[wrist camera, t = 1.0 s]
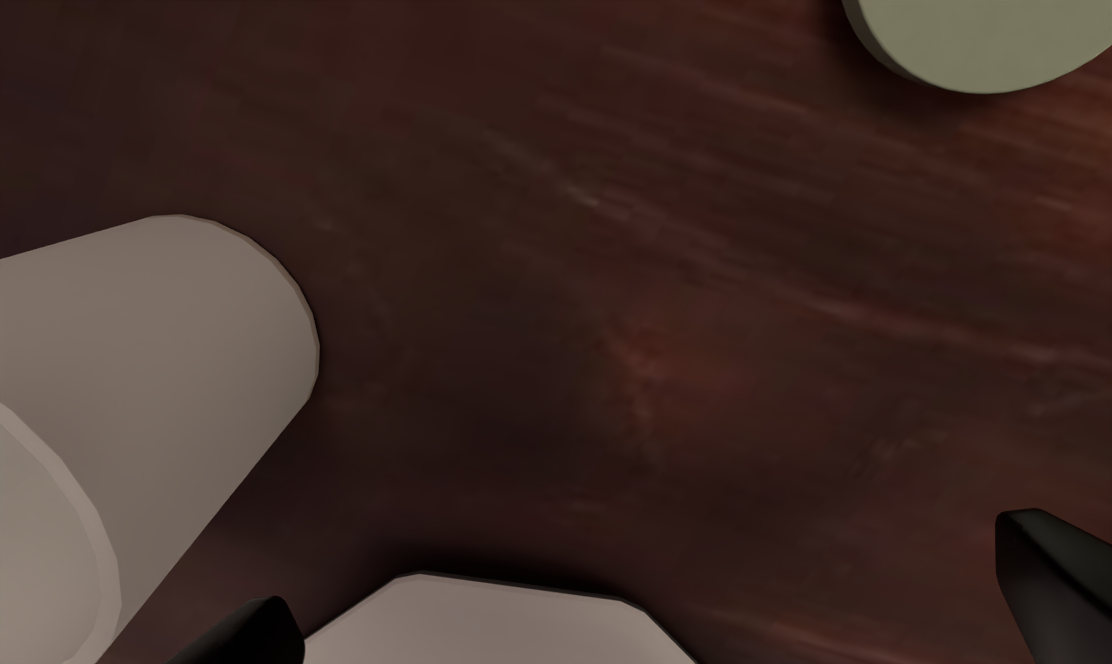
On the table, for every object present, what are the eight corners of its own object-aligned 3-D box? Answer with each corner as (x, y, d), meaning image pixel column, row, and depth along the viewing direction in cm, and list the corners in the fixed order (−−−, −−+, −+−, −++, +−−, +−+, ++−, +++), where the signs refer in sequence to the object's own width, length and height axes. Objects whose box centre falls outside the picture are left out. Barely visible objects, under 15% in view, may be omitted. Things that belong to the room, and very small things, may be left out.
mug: (381, 301, 22) (184, 500, 12) (274, 486, 25) (56, 752, 16) (62, 100, 20) (-432, 152, 11) (-5, 325, 24) (-426, 512, 14)
